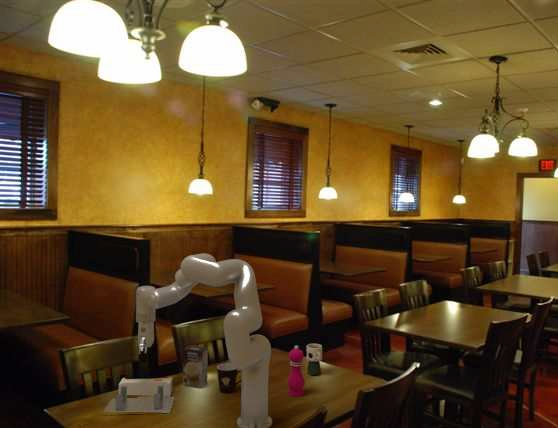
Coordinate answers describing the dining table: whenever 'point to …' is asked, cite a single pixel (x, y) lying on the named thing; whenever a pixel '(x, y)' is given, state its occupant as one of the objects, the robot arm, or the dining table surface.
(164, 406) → the slot rack
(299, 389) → the pepper mill
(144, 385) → the strip bar
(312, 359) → the character mug
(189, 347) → the coffee box
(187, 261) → the robot arm
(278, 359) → the dining table surface
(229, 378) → the coffee mug
